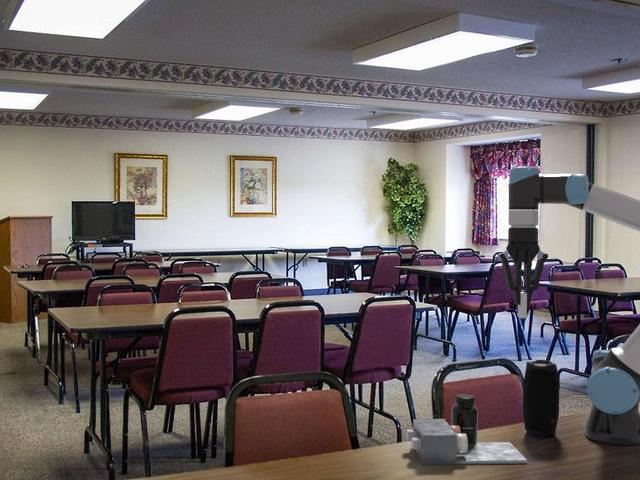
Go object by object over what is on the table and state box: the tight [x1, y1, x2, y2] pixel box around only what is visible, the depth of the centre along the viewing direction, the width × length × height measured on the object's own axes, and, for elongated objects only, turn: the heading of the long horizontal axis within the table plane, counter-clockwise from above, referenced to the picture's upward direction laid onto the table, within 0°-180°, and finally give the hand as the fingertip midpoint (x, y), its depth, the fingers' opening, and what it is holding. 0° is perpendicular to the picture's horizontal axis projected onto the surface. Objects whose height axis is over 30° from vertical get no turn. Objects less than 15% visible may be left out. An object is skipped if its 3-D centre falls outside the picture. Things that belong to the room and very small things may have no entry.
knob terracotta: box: [406, 424, 461, 442], centre depth 191 cm, size 13×4×4 cm, turn 93°
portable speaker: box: [522, 359, 560, 439], centre depth 205 cm, size 9×9×20 cm
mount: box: [412, 418, 528, 466], centre depth 188 cm, size 25×14×7 cm, turn 93°
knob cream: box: [410, 434, 468, 452], centre depth 184 cm, size 13×4×4 cm, turn 93°
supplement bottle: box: [450, 393, 479, 443], centre depth 198 cm, size 7×7×12 cm
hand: (522, 317), depth 198 cm, fingers closed
